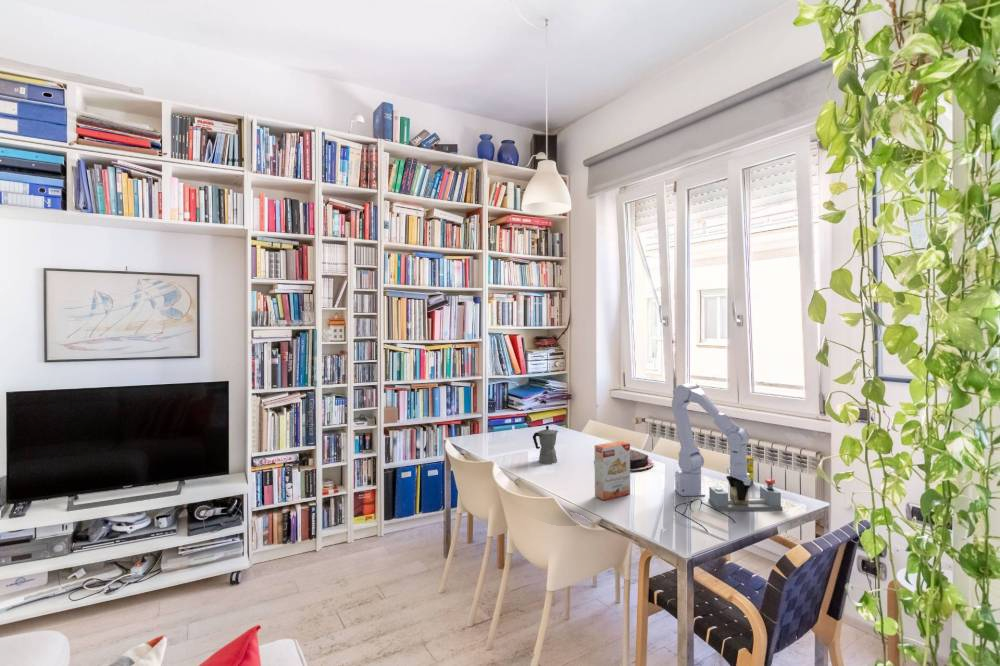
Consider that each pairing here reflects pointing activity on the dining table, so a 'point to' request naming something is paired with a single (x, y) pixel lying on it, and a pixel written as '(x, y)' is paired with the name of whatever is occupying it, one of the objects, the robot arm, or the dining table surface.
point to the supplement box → (750, 468)
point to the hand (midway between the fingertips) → (738, 498)
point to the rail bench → (765, 502)
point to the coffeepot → (546, 445)
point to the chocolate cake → (639, 461)
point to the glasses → (699, 508)
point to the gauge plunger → (770, 484)
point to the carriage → (734, 496)
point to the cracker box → (612, 470)
